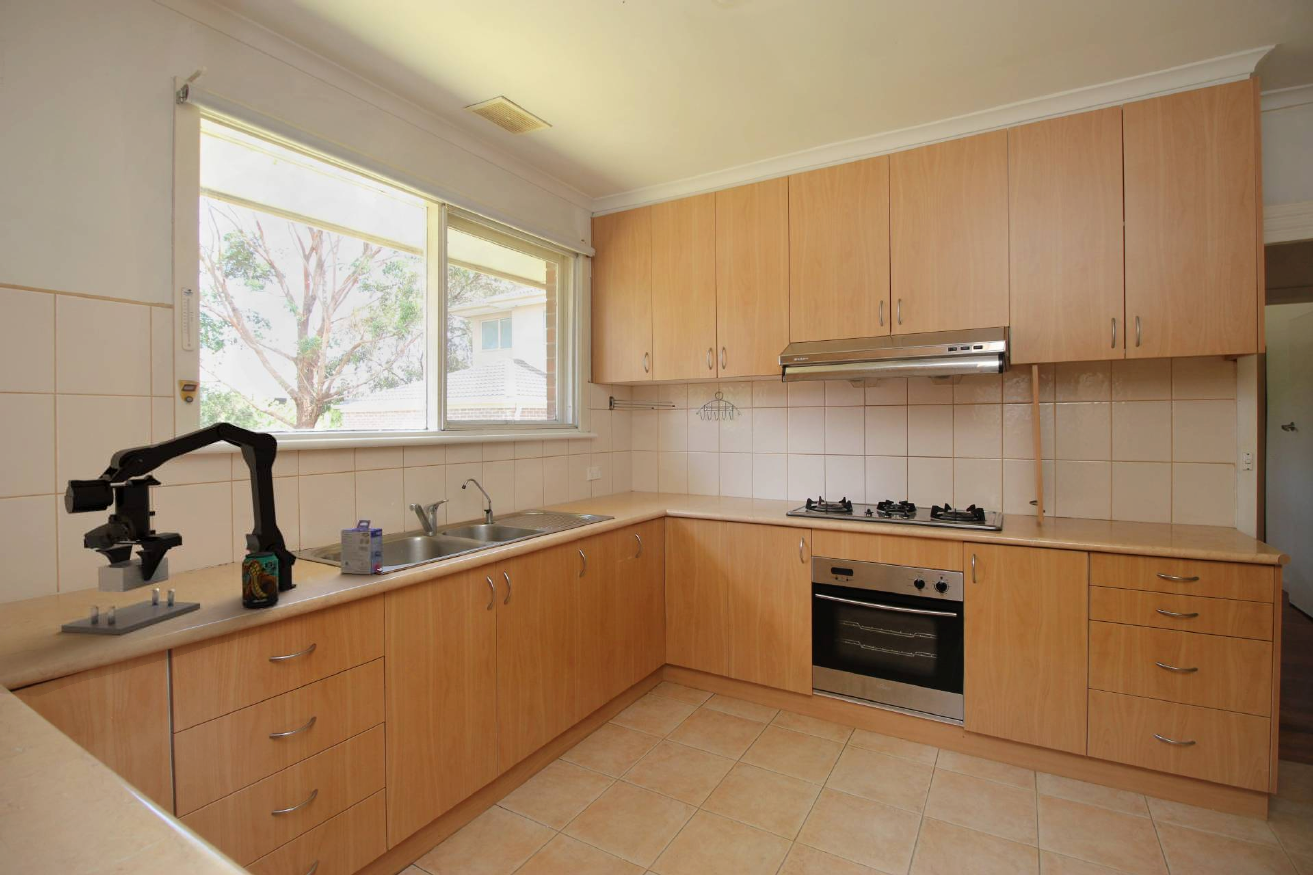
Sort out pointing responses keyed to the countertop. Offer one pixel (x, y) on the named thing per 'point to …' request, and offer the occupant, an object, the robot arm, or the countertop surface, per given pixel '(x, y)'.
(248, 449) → the robot arm
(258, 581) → the beverage can
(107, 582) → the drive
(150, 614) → the pin tray
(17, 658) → the countertop surface
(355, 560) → the ink cartridge box
